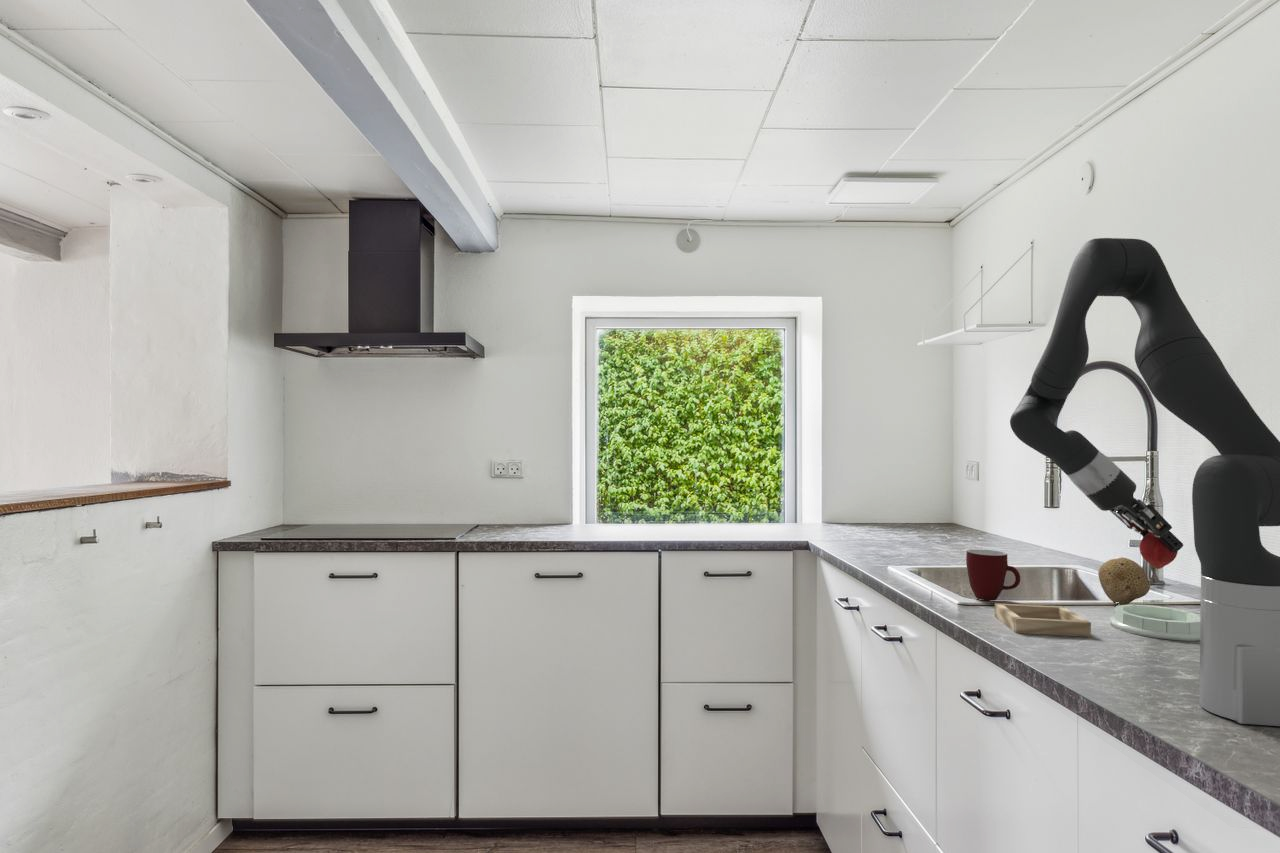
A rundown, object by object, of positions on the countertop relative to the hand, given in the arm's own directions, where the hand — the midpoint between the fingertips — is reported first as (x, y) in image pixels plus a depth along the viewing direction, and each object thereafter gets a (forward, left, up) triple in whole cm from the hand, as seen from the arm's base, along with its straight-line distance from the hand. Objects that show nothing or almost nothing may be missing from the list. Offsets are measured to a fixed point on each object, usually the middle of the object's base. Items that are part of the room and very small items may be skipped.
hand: (1168, 546), depth 139 cm
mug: (+20, +25, -16) cm, 35 cm away
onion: (0, +2, -4) cm, 5 cm away
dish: (0, +2, -15) cm, 16 cm away
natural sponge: (+20, -1, -16) cm, 25 cm away
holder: (-2, +23, -15) cm, 27 cm away
